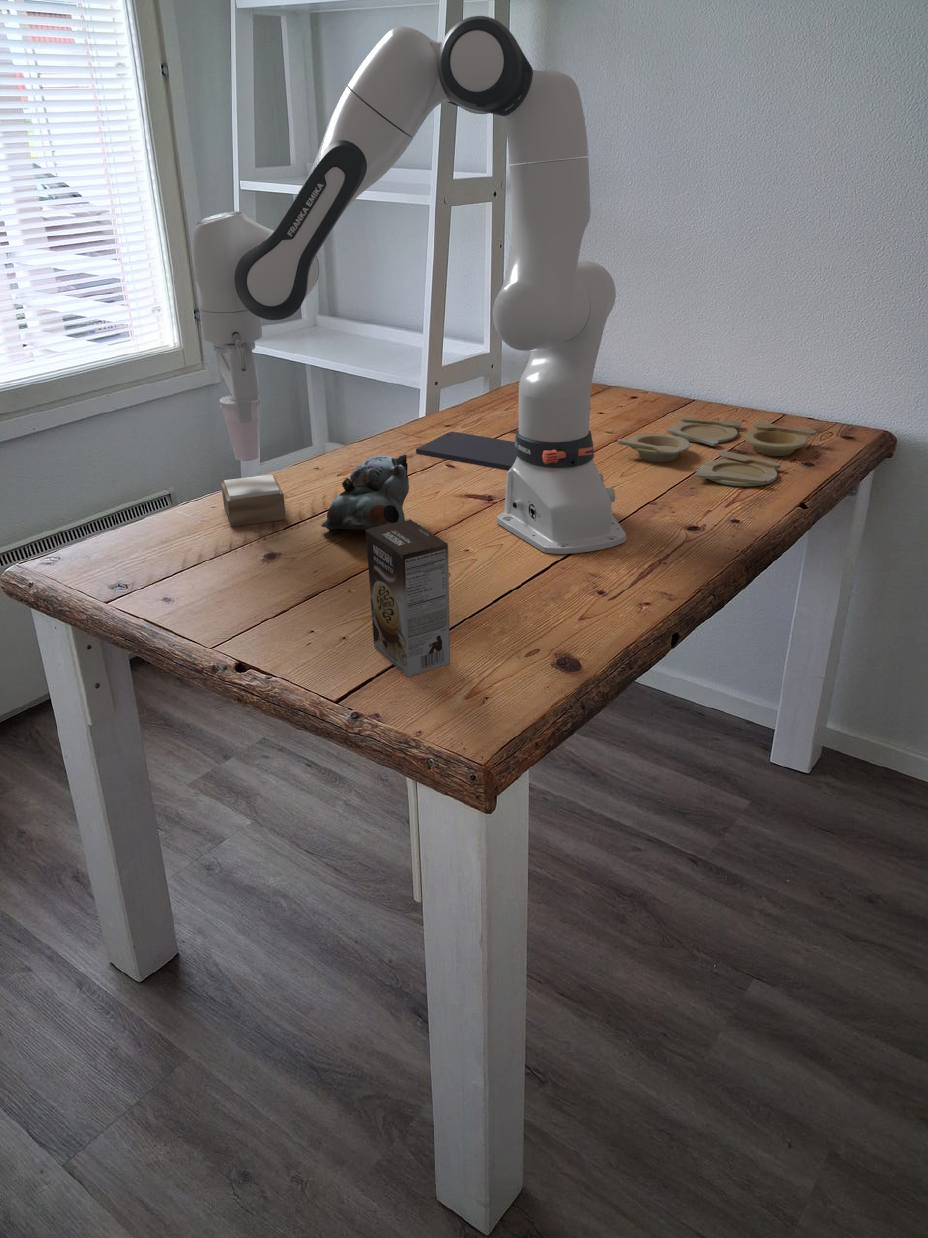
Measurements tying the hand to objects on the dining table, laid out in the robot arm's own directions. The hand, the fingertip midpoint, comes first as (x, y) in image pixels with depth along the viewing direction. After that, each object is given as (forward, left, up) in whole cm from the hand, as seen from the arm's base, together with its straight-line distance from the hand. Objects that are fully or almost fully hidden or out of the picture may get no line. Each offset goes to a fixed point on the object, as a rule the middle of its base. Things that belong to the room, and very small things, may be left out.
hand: (242, 415), depth 159 cm
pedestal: (0, 0, -17) cm, 17 cm away
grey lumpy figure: (-14, -16, -17) cm, 27 cm away
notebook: (+16, -46, -17) cm, 51 cm away
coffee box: (-55, -12, -17) cm, 59 cm away
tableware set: (-1, -88, -17) cm, 89 cm away
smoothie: (0, 0, -7) cm, 7 cm away
